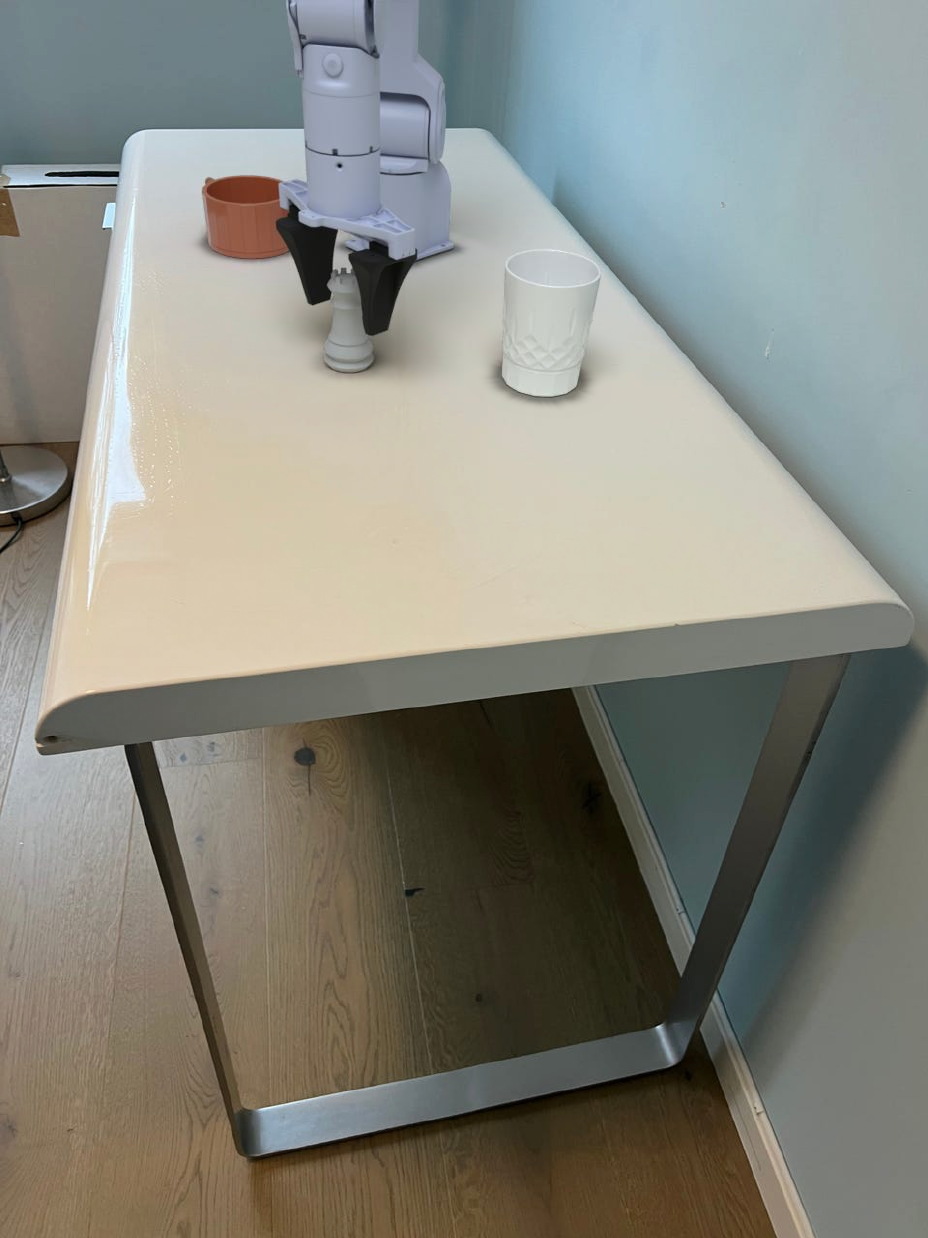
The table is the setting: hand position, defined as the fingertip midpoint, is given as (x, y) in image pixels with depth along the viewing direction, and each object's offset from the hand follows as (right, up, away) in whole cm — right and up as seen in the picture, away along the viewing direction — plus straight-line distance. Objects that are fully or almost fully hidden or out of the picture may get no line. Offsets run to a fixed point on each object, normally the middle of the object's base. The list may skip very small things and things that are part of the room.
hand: (347, 316), depth 80 cm
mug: (-14, +16, +23) cm, 31 cm away
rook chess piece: (0, -3, +3) cm, 4 cm away
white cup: (+17, -5, +3) cm, 18 cm away
